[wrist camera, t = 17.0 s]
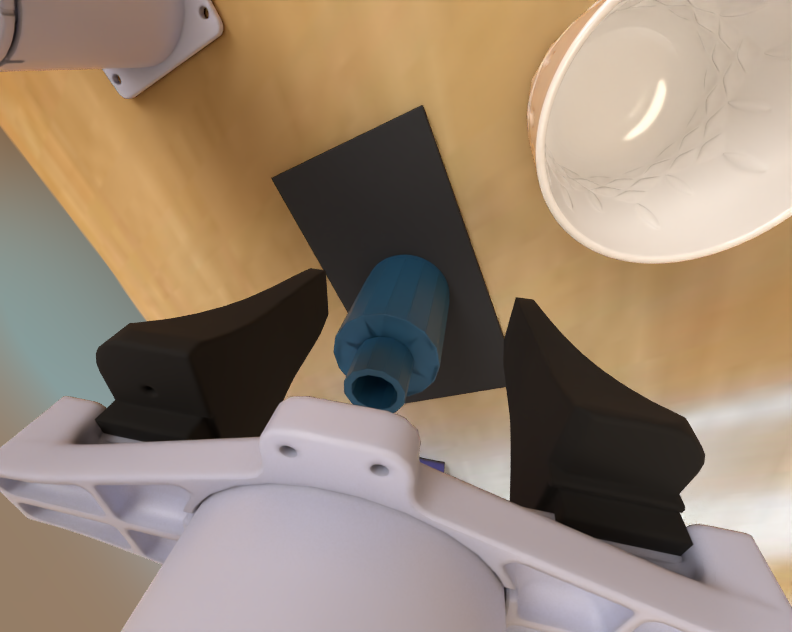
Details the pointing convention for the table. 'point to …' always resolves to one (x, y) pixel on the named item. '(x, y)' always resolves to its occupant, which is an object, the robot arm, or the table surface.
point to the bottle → (393, 333)
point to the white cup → (666, 126)
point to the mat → (399, 236)
